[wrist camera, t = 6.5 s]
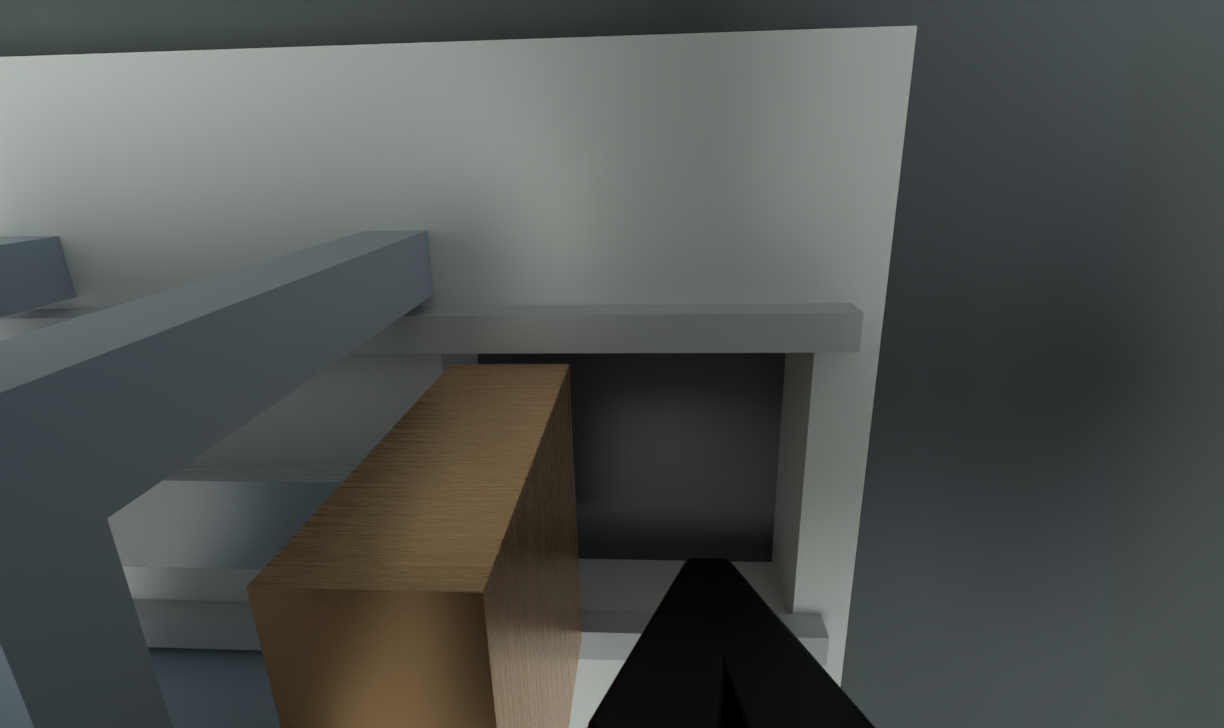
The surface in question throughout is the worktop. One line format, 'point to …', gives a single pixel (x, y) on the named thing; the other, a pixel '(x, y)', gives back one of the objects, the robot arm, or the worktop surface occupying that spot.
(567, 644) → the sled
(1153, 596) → the worktop surface
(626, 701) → the robot arm
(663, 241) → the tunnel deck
